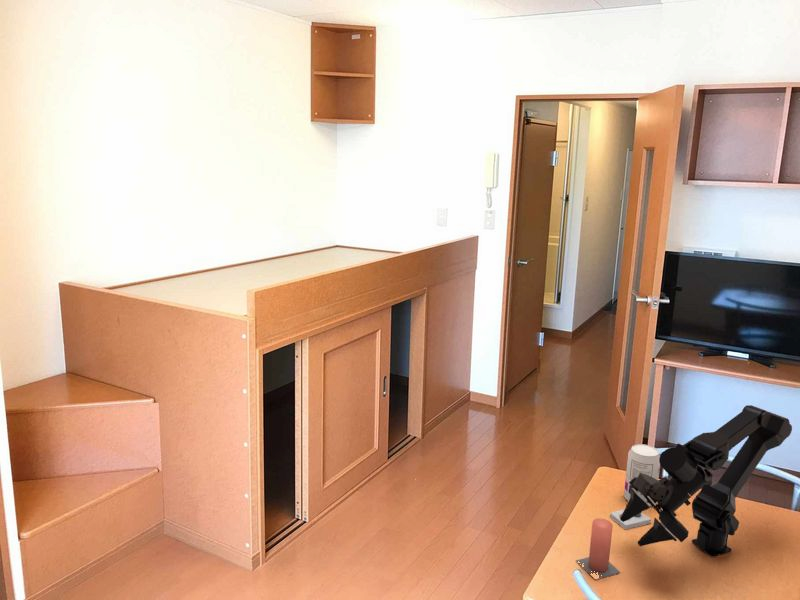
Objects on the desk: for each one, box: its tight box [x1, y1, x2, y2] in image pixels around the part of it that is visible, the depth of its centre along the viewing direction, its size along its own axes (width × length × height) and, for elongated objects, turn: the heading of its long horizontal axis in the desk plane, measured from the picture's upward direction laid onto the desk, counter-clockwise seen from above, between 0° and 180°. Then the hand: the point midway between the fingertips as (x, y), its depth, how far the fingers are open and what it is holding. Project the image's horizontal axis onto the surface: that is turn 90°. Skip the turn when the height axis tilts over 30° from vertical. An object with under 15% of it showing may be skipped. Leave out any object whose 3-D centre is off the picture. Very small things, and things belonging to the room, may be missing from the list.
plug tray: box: [609, 508, 652, 530], centre depth 166 cm, size 8×6×4 cm
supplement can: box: [623, 443, 661, 507], centre depth 175 cm, size 8×8×15 cm
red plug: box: [588, 518, 614, 573], centre depth 147 cm, size 4×4×11 cm
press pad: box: [575, 556, 621, 579], centre depth 148 cm, size 7×7×1 cm
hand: (629, 532), depth 147 cm, fingers open, 9 cm apart
